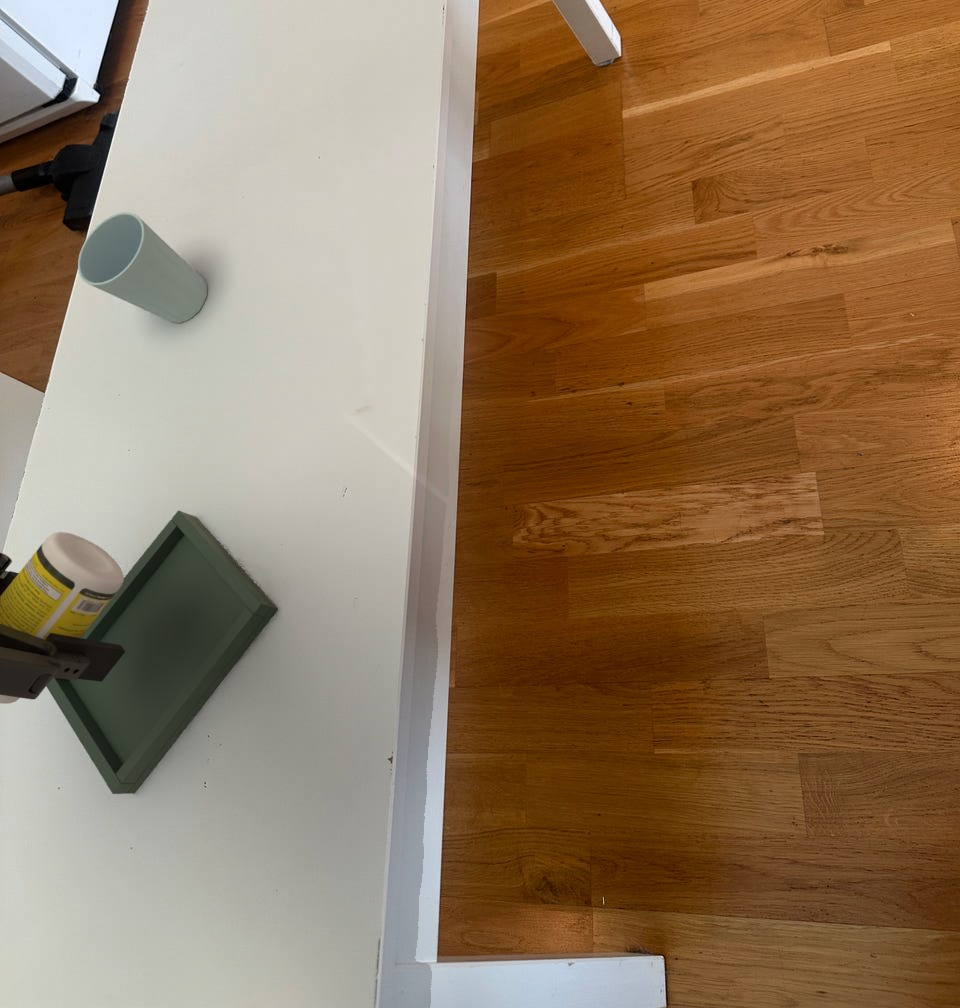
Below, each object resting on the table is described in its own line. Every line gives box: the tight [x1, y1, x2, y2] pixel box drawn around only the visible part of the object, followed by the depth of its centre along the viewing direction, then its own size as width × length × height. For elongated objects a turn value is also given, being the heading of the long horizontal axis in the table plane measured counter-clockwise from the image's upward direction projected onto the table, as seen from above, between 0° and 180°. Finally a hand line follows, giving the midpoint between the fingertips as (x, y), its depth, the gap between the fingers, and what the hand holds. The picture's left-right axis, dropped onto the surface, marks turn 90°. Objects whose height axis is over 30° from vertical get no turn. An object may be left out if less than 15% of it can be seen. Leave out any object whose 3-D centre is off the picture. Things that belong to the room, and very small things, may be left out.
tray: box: [45, 509, 279, 795], centre depth 72 cm, size 18×13×2 cm
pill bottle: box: [0, 531, 125, 705], centre depth 62 cm, size 6×6×11 cm
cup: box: [77, 211, 208, 324], centre depth 85 cm, size 8×8×10 cm
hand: (89, 632), depth 66 cm, fingers closed on pill bottle, 6 cm apart
